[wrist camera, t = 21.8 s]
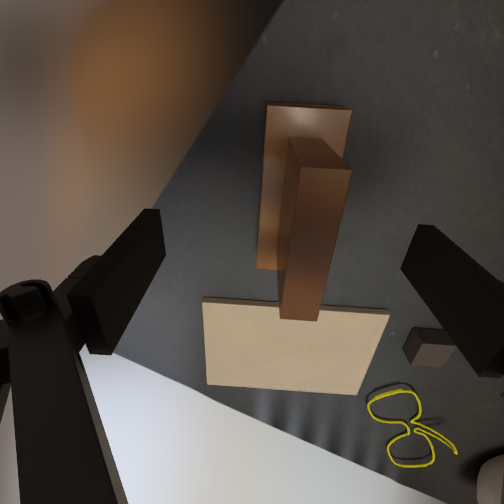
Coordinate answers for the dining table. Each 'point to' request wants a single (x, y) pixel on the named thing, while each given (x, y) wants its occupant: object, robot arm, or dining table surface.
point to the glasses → (409, 429)
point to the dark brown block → (428, 347)
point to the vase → (490, 481)
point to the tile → (289, 346)
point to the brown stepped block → (302, 201)
